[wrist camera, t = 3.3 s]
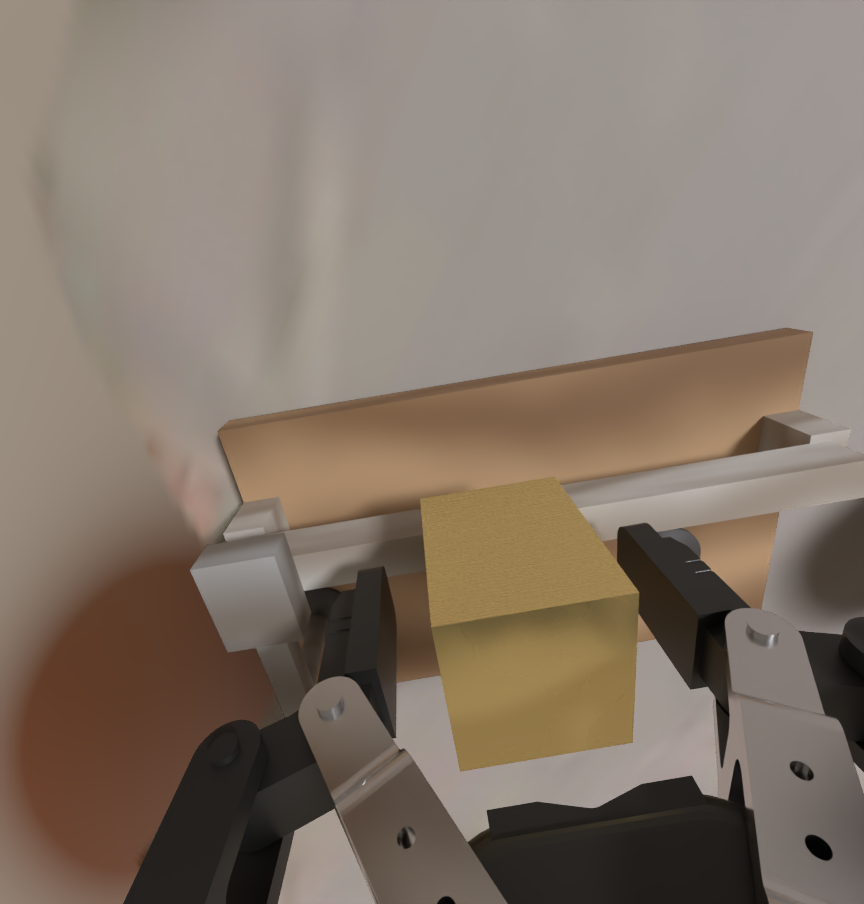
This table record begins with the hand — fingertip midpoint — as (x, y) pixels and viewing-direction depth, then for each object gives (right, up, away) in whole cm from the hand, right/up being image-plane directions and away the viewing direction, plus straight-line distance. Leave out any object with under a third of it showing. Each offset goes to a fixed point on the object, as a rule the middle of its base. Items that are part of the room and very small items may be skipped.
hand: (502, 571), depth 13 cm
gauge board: (+2, 0, +7) cm, 7 cm away
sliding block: (0, 0, +5) cm, 5 cm away
